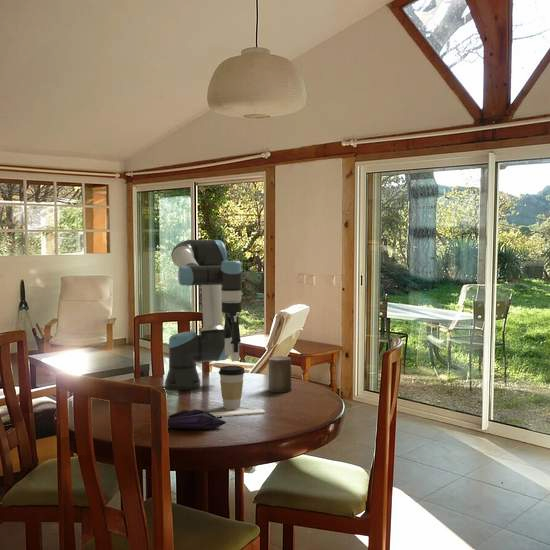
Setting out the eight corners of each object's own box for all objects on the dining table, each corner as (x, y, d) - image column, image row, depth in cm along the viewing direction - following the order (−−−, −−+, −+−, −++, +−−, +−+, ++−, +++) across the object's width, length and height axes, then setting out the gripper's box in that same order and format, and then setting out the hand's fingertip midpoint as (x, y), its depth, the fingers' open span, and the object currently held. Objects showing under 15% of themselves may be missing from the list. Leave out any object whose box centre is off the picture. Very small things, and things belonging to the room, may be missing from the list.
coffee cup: (248, 405, 237) (248, 366, 236) (238, 411, 227) (238, 371, 227) (225, 402, 240) (224, 364, 239) (214, 409, 231) (214, 369, 230)
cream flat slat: (197, 415, 222) (197, 413, 222) (262, 410, 228) (262, 409, 228) (199, 418, 218) (199, 416, 218) (265, 413, 225) (265, 411, 225)
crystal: (161, 414, 201) (222, 409, 201) (168, 408, 213) (226, 404, 212) (163, 436, 201) (224, 431, 200) (169, 429, 212) (227, 424, 212)
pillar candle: (295, 390, 260) (295, 355, 259) (276, 393, 254) (276, 357, 254) (282, 386, 268) (282, 352, 268) (263, 389, 263) (263, 354, 262)
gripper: (248, 304, 221) (248, 363, 221) (234, 299, 245) (235, 352, 245) (227, 304, 219) (228, 364, 219) (216, 299, 243) (216, 353, 244)
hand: (231, 358), depth 232 cm, fingers open, 13 cm apart
